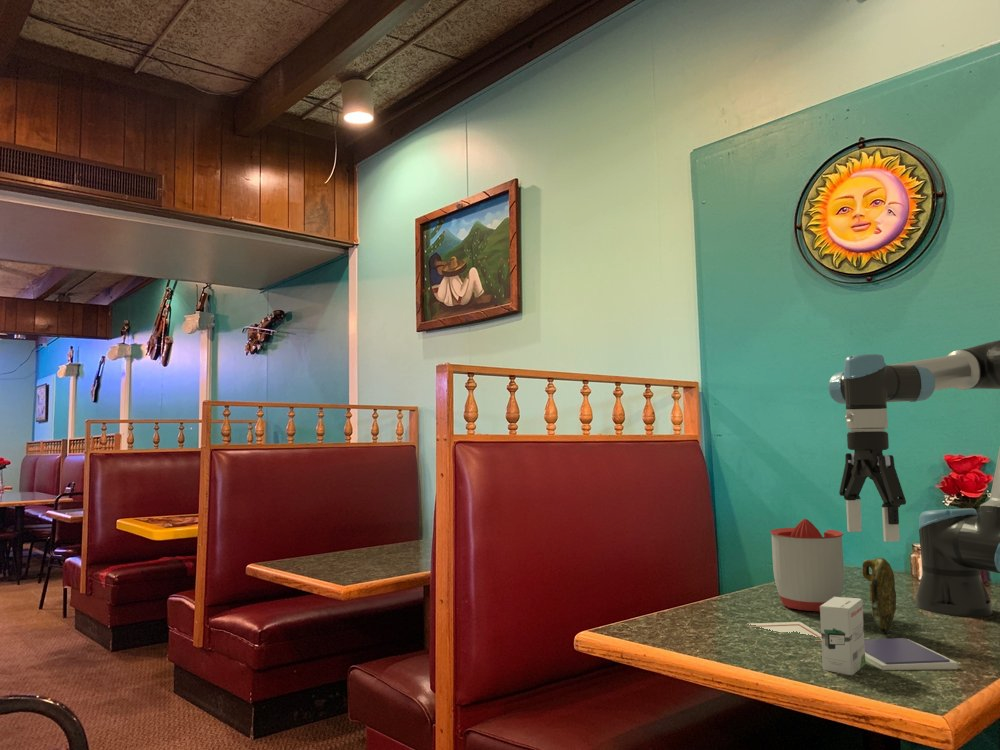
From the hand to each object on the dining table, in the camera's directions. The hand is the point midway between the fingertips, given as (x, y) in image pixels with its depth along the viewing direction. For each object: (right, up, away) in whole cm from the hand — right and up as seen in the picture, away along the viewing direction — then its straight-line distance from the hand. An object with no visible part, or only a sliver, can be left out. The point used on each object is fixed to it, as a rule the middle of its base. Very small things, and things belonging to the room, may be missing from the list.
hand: (872, 536), depth 148 cm
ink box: (-16, -18, -23) cm, 34 cm away
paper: (-19, -20, -1) cm, 27 cm away
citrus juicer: (-3, -21, +22) cm, 30 cm away
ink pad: (-5, -18, -17) cm, 26 cm away
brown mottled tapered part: (+1, -19, -1) cm, 19 cm away
